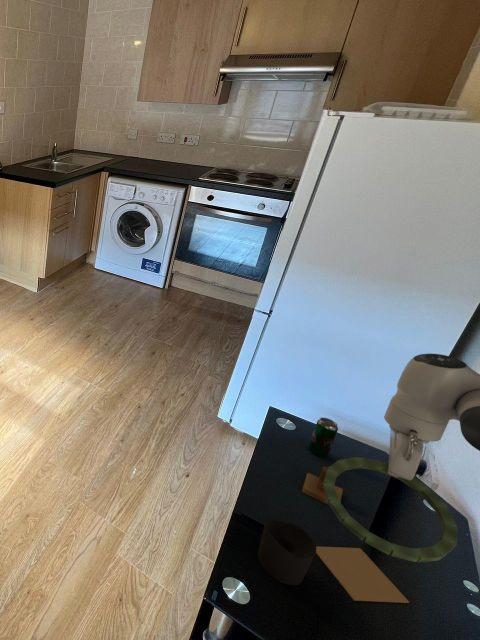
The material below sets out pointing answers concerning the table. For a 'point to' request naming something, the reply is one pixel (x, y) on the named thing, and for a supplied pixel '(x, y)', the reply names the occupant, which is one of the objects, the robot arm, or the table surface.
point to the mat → (359, 575)
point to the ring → (415, 555)
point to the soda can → (323, 437)
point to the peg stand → (318, 486)
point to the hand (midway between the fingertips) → (392, 470)
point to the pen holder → (285, 551)
